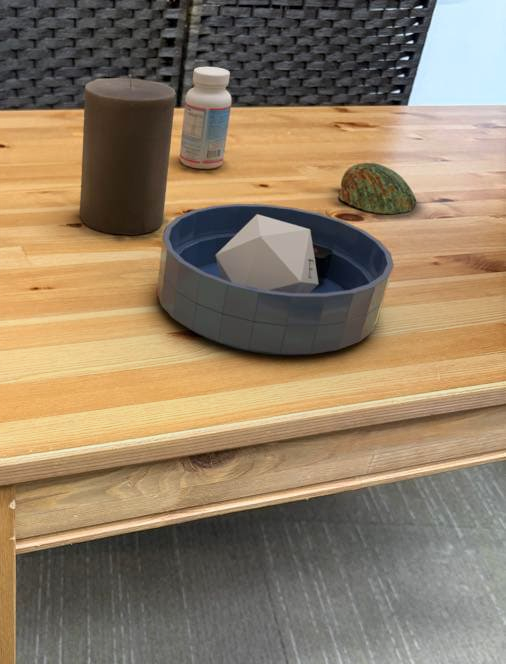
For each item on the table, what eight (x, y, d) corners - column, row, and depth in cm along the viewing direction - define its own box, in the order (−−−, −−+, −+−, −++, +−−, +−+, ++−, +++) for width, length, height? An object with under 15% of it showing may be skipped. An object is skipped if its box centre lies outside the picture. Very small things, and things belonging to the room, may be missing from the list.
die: (238, 345, 73) (326, 265, 68) (181, 268, 75) (263, 184, 69) (270, 342, 80) (353, 270, 75) (218, 272, 82) (295, 196, 76)
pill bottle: (220, 157, 114) (233, 66, 106) (224, 171, 109) (238, 78, 102) (177, 154, 114) (187, 63, 106) (179, 168, 109) (189, 74, 102)
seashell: (391, 182, 96) (327, 159, 102) (380, 218, 99) (318, 193, 105) (440, 177, 101) (377, 154, 107) (428, 211, 104) (367, 187, 110)
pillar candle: (131, 243, 89) (143, 91, 79) (62, 219, 93) (65, 72, 83) (179, 219, 95) (196, 76, 85) (112, 198, 99) (121, 58, 89)
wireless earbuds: (265, 261, 86) (271, 230, 84) (327, 281, 83) (334, 250, 81) (243, 274, 83) (249, 243, 81) (306, 296, 80) (314, 264, 78)
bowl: (391, 289, 84) (409, 231, 80) (350, 383, 69) (369, 318, 65) (198, 245, 90) (206, 189, 86) (122, 323, 75) (127, 260, 71)
